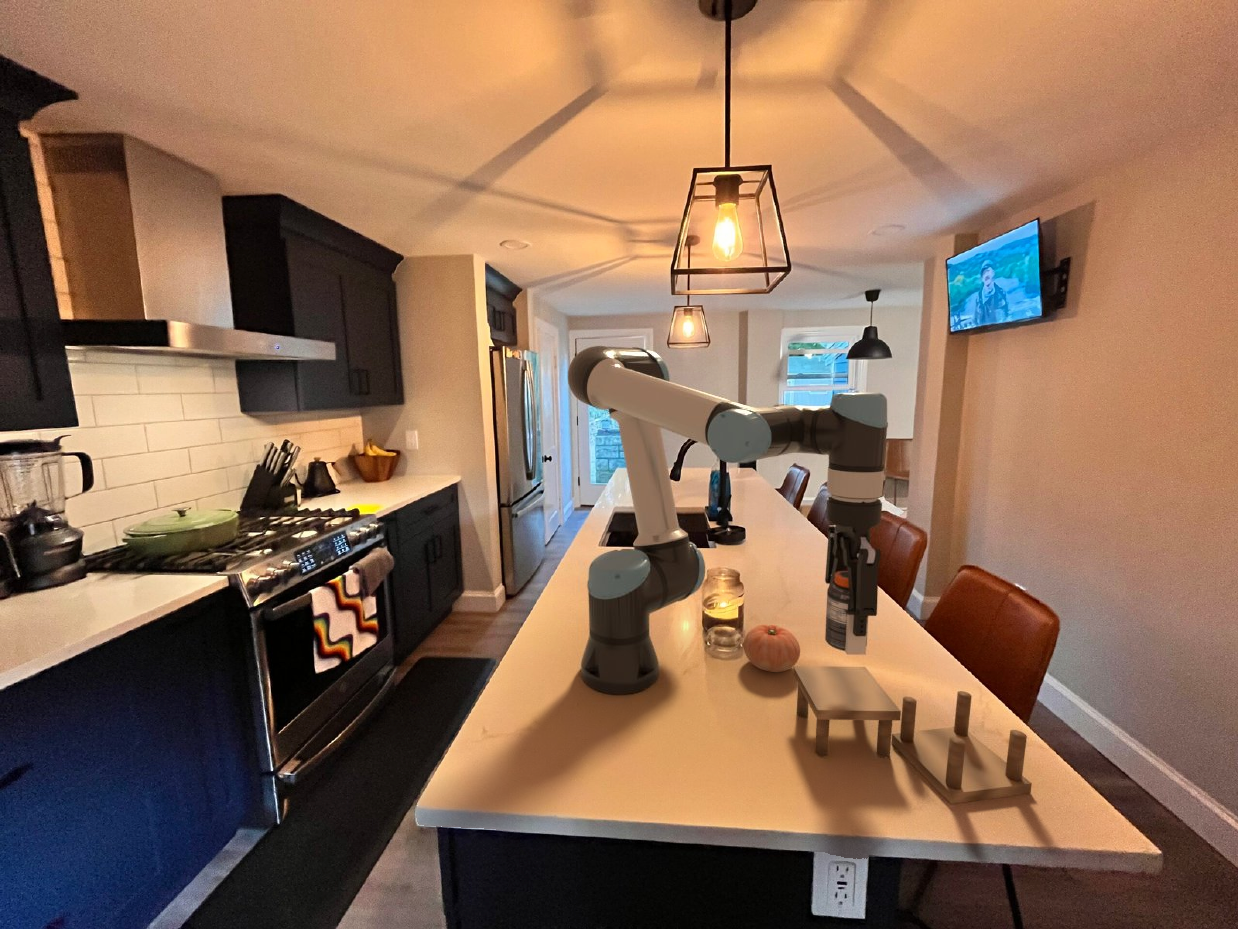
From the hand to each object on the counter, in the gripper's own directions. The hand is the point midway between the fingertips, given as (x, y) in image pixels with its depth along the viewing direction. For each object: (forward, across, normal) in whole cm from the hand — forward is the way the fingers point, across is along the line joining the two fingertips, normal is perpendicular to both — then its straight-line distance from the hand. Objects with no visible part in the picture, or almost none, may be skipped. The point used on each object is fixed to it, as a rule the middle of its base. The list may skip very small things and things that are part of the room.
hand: (846, 642), depth 80 cm
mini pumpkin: (+16, +20, +6) cm, 26 cm away
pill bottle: (0, 0, 0) cm, 0 cm away
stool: (+16, 0, 0) cm, 16 cm away
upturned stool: (+16, -7, -14) cm, 22 cm away
